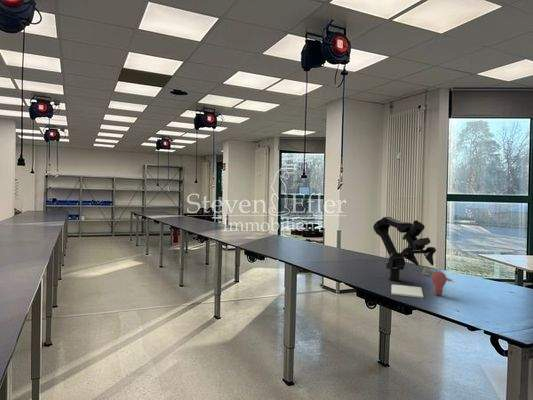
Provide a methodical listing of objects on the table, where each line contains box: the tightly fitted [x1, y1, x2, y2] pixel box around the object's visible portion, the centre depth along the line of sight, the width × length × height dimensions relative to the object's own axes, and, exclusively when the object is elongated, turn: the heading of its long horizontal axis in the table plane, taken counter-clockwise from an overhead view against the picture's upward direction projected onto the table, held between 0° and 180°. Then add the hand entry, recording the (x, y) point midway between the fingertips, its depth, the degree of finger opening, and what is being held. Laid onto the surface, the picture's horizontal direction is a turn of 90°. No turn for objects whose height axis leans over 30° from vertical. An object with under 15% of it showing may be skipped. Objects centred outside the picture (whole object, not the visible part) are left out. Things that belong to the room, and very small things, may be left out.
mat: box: [390, 284, 424, 299], centre depth 203 cm, size 19×15×1 cm
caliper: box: [422, 265, 454, 283], centre depth 238 cm, size 20×1×6 cm, turn 30°
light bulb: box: [430, 271, 448, 296], centre depth 198 cm, size 7×7×12 cm
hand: (425, 265), depth 205 cm, fingers open, 9 cm apart
